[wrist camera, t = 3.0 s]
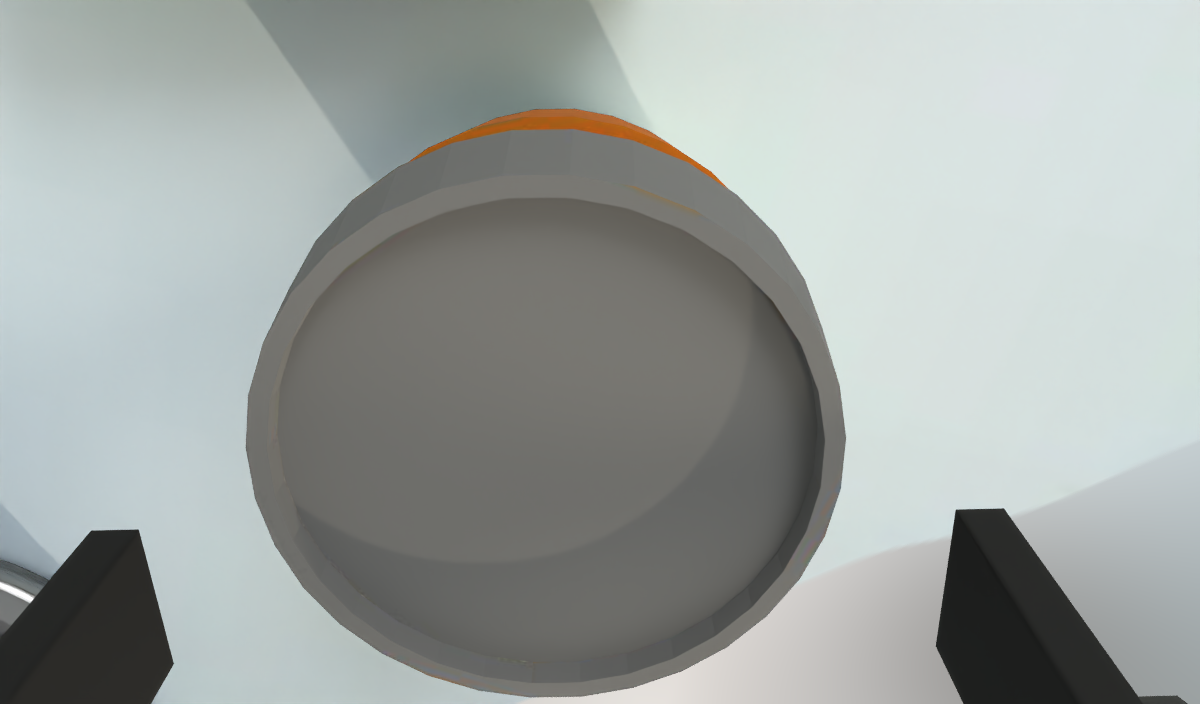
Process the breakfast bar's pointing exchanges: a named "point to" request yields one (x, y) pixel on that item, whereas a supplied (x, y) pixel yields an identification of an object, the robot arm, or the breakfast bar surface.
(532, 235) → the reusable coffee cup
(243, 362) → the breakfast bar surface
